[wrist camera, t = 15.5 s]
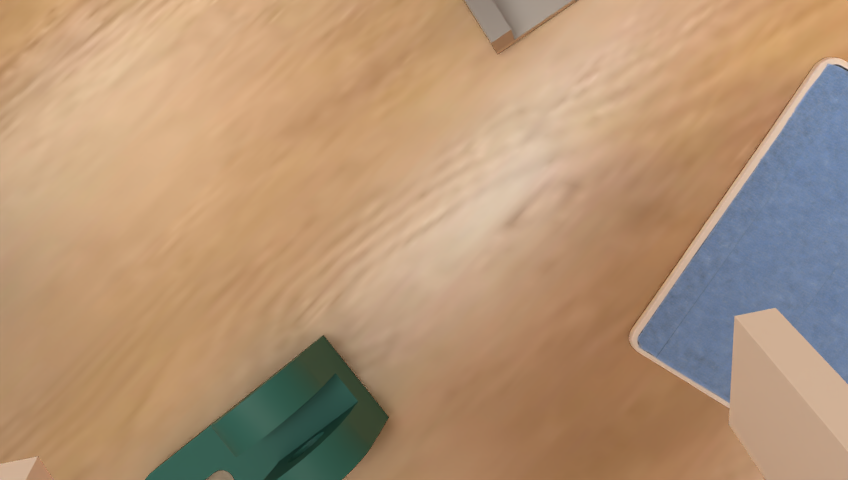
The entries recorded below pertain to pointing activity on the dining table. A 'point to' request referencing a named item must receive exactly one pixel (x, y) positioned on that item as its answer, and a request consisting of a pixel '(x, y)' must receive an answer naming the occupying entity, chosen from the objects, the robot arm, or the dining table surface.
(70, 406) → the dining table surface
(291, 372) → the bracket
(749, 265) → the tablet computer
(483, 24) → the cup holder
